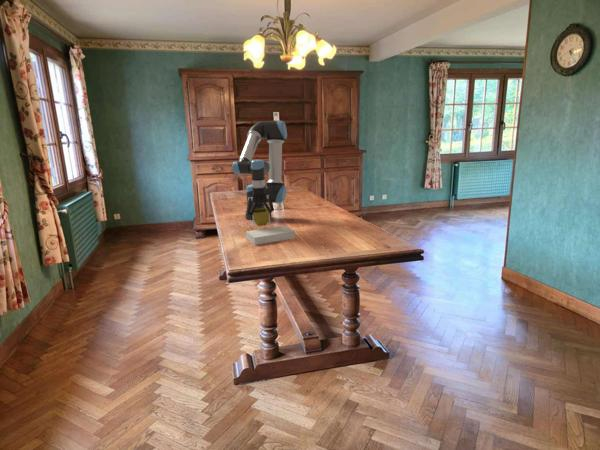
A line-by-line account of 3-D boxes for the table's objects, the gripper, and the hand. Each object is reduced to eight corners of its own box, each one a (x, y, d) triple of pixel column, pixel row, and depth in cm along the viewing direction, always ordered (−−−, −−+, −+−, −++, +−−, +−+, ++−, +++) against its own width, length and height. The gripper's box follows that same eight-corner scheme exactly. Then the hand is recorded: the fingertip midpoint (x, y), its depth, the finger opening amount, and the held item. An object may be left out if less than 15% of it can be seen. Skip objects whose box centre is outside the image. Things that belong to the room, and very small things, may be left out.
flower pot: (254, 227, 225) (253, 212, 222) (252, 223, 233) (251, 209, 231) (269, 226, 227) (268, 211, 225) (266, 222, 235) (266, 208, 233)
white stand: (246, 238, 219) (246, 231, 218) (285, 232, 229) (284, 225, 228) (254, 244, 207) (254, 237, 205) (295, 238, 217) (295, 231, 216)
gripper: (242, 190, 216) (245, 228, 222) (278, 185, 225) (280, 222, 231) (238, 188, 222) (241, 225, 229) (273, 183, 231) (275, 220, 238)
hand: (261, 224), depth 230 cm, fingers closed on flower pot, 9 cm apart
